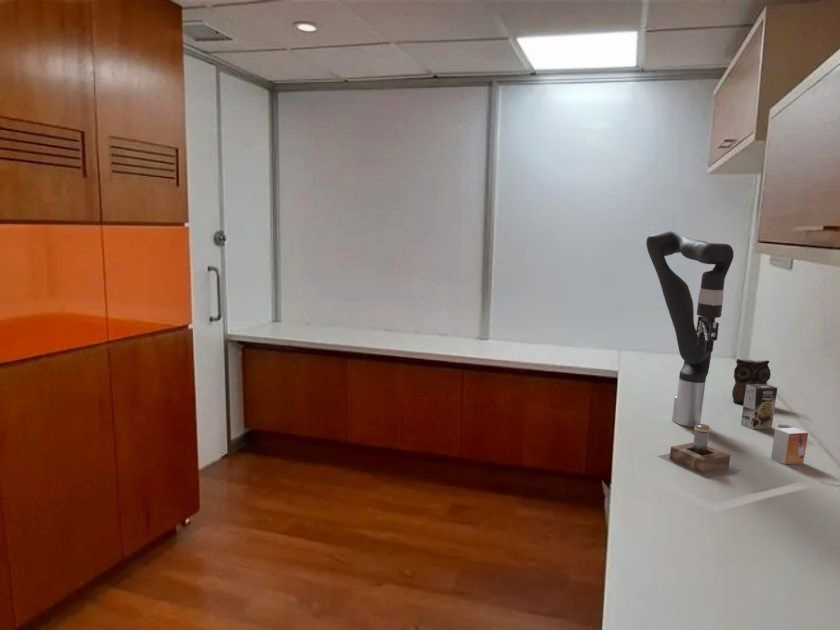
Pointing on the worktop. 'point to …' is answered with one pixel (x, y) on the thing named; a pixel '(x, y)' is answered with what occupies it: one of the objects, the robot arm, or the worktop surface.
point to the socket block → (699, 458)
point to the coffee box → (759, 406)
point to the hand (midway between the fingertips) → (704, 349)
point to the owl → (748, 377)
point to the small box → (789, 445)
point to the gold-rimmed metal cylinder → (701, 439)
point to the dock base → (705, 475)
